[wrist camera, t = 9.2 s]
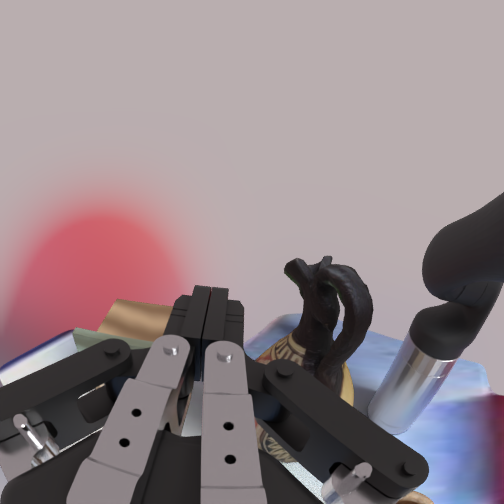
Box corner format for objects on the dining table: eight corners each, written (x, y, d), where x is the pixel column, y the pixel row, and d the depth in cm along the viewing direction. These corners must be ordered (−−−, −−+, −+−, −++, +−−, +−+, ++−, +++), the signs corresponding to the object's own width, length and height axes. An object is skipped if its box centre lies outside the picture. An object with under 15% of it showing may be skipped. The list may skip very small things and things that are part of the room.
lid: (117, 303, 46) (114, 274, 44) (185, 313, 47) (185, 283, 45) (82, 364, 32) (72, 333, 30) (166, 382, 33) (163, 350, 31)
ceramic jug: (219, 406, 42) (236, 222, 30) (307, 391, 47) (359, 226, 35) (249, 499, 27) (311, 328, 15) (352, 468, 32) (463, 298, 20)
